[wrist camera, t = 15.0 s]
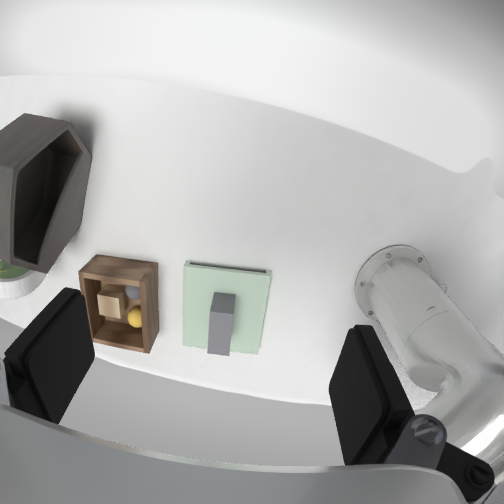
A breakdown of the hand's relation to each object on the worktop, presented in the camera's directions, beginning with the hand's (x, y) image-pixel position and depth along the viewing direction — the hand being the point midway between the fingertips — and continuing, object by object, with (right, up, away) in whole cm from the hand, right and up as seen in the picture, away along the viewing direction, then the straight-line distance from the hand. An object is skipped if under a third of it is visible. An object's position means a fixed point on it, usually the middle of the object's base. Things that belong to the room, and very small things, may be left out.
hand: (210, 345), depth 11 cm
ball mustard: (-16, -6, +37) cm, 41 cm away
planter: (-26, +14, +30) cm, 42 cm away
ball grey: (-15, -2, +35) cm, 38 cm away
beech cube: (-19, -3, +36) cm, 41 cm away
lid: (-3, -5, +37) cm, 38 cm away
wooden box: (-18, -3, +37) cm, 41 cm away
